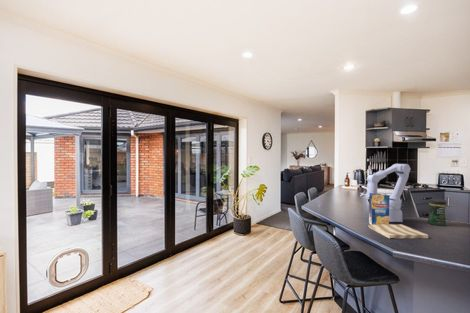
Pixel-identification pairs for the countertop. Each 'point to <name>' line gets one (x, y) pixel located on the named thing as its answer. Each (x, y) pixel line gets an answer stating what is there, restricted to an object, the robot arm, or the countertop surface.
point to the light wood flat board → (397, 231)
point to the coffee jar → (437, 212)
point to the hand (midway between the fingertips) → (372, 208)
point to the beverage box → (378, 208)
